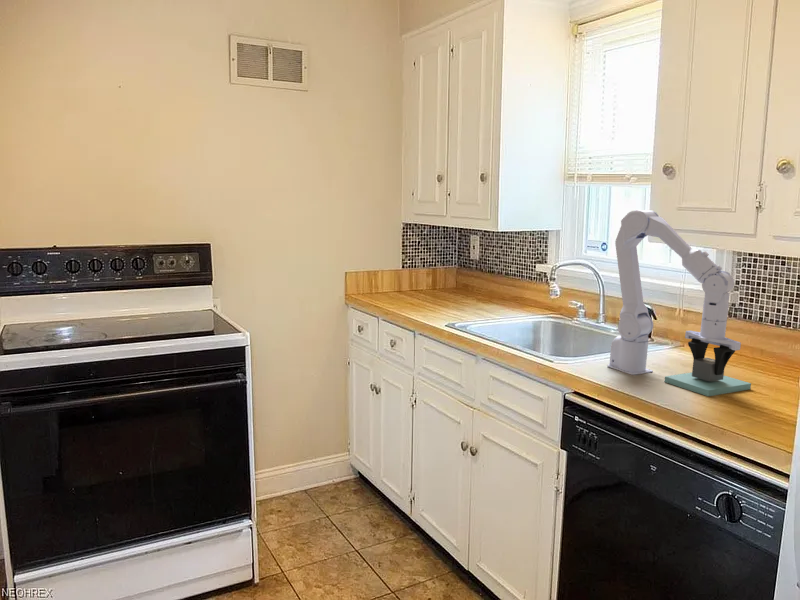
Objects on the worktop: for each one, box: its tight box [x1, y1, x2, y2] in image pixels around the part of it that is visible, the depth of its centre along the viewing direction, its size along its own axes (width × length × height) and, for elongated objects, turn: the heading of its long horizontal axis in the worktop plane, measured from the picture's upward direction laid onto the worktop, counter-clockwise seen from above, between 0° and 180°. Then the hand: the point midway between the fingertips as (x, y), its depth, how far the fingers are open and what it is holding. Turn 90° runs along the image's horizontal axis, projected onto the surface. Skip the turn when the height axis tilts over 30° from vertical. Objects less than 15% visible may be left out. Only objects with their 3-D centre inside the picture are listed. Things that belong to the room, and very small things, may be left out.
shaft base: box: [664, 371, 752, 397], centre depth 165 cm, size 13×16×4 cm
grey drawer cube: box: [691, 357, 725, 382], centre depth 165 cm, size 5×5×5 cm
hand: (708, 371), depth 165 cm, fingers closed on grey drawer cube, 5 cm apart
